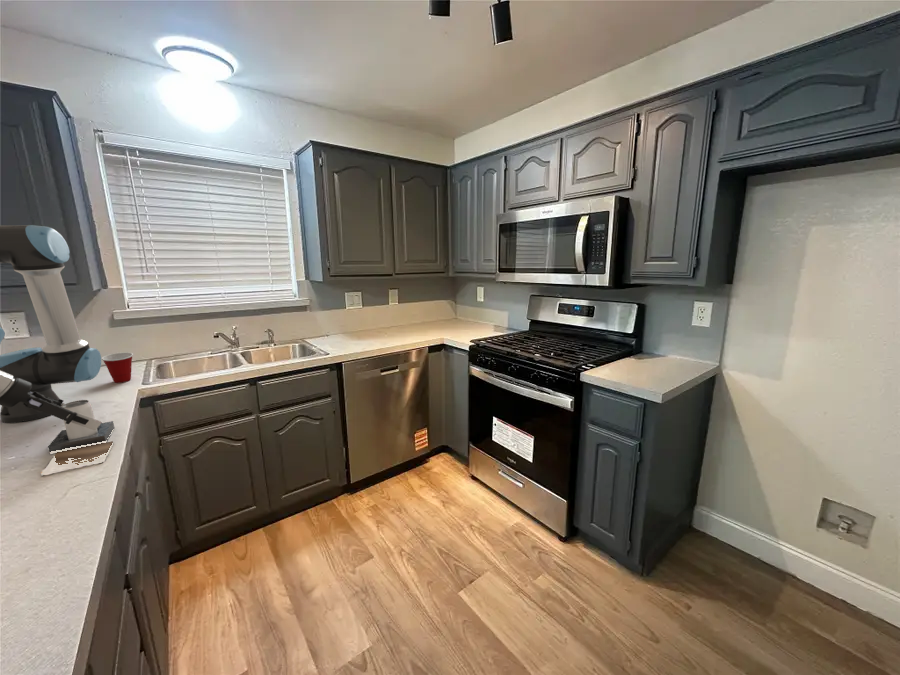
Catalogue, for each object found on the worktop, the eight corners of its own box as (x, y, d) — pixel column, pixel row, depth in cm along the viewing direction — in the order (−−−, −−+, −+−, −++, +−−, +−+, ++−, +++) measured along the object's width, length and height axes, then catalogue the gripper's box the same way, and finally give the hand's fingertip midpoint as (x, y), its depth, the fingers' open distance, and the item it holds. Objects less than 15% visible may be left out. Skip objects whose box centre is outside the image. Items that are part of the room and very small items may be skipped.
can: (95, 433, 119) (87, 397, 116) (101, 439, 115) (93, 402, 113) (67, 441, 114) (58, 404, 111) (72, 447, 110) (62, 409, 107)
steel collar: (63, 437, 116) (61, 430, 116) (114, 428, 122) (112, 421, 122) (50, 454, 106) (47, 446, 106) (106, 443, 113) (104, 435, 112)
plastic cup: (107, 386, 162) (101, 360, 159) (105, 381, 170) (100, 355, 167) (139, 380, 170) (134, 355, 167) (136, 375, 177) (131, 350, 174)
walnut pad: (57, 455, 106) (56, 452, 105) (113, 444, 112) (112, 441, 112) (41, 476, 96) (40, 472, 96) (103, 462, 102) (103, 459, 102)
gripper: (-18, 392, 105) (68, 422, 120) (-1, 411, 91) (94, 442, 107) (5, 369, 108) (87, 401, 123) (26, 384, 95) (114, 418, 110)
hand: (90, 420), depth 115 cm, fingers open, 13 cm apart
